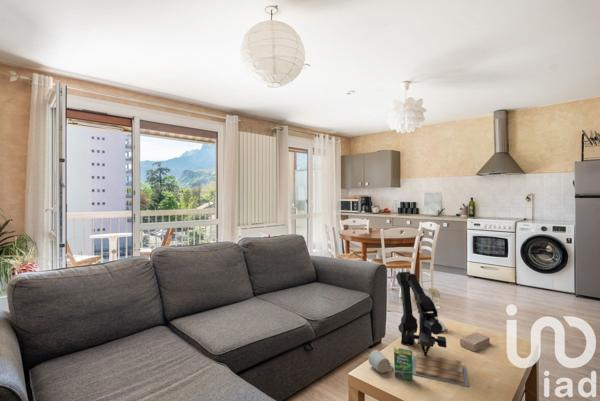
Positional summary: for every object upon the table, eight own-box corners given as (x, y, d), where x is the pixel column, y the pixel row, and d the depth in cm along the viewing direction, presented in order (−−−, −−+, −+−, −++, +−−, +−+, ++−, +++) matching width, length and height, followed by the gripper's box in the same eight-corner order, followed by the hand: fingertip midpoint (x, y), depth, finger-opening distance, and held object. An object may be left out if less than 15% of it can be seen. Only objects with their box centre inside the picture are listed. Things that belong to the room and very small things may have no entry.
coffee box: (393, 376, 143) (393, 348, 143) (394, 373, 146) (394, 346, 145) (411, 381, 139) (411, 353, 139) (412, 378, 142) (413, 350, 141)
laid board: (415, 373, 145) (415, 370, 145) (416, 365, 151) (416, 363, 151) (463, 383, 137) (463, 380, 137) (462, 375, 143) (462, 372, 143)
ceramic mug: (378, 376, 144) (378, 359, 144) (368, 366, 152) (368, 351, 151) (396, 371, 148) (396, 355, 148) (385, 362, 156) (386, 347, 155)
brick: (475, 338, 180) (475, 330, 179) (490, 344, 172) (490, 336, 172) (459, 346, 171) (459, 338, 171) (474, 353, 164) (474, 344, 163)
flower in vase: (450, 331, 187) (450, 290, 187) (434, 334, 184) (434, 292, 183) (435, 322, 200) (435, 284, 199) (420, 325, 197) (420, 286, 196)
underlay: (410, 374, 145) (410, 373, 145) (413, 356, 160) (413, 355, 160) (469, 386, 135) (469, 386, 135) (465, 366, 151) (465, 365, 151)
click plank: (416, 365, 152) (416, 362, 151) (417, 354, 158) (417, 352, 158) (462, 374, 144) (462, 372, 143) (461, 363, 150) (461, 360, 149)
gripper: (404, 328, 151) (404, 360, 152) (446, 335, 143) (446, 368, 144) (406, 319, 161) (406, 348, 162) (446, 325, 154) (445, 356, 154)
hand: (425, 355), depth 155 cm, fingers closed, pressing on click plank
